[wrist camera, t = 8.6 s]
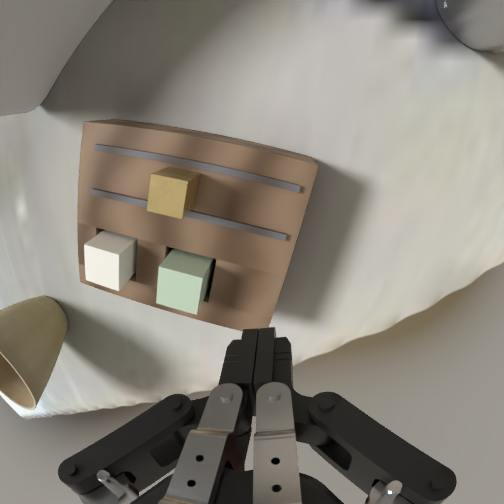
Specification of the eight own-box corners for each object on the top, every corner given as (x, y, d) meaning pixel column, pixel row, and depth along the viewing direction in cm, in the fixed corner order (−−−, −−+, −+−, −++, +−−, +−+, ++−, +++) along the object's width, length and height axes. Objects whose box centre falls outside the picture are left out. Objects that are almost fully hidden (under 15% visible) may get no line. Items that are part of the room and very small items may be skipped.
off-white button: (141, 234, 30) (119, 254, 26) (139, 267, 32) (118, 291, 27) (109, 226, 30) (84, 244, 25) (108, 258, 32) (85, 280, 27)
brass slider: (200, 173, 25) (187, 181, 22) (194, 206, 26) (181, 219, 23) (167, 166, 25) (151, 173, 22) (162, 199, 26) (146, 210, 23)
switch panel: (312, 157, 29) (319, 166, 23) (268, 304, 37) (265, 338, 31) (114, 119, 29) (81, 122, 23) (104, 259, 37) (78, 283, 31)
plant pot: (53, 265, 38) (-16, 324, 24) (100, 343, 43) (53, 414, 29) (11, 284, 42) (-44, 333, 27) (51, 349, 47) (9, 405, 32)
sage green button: (215, 253, 30) (202, 278, 26) (208, 287, 32) (196, 314, 27) (176, 243, 30) (158, 266, 26) (172, 277, 32) (156, 303, 27)
